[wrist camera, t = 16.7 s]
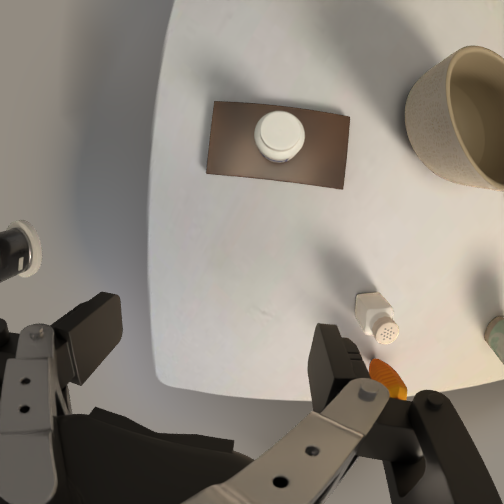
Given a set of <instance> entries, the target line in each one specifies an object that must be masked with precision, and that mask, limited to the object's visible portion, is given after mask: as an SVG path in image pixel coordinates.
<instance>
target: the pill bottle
mask: <svg viewBox="0 0 504 504" xmlns="http://www.w3.org/2000/svg"><path fill="white" fill-rule="evenodd" d="M254 138H255V142H256V145H257V147H258V149H259V151H260V153H261V154H262V155H263V156H264V157H265V158H266V159H268V160H269V161H272V162H277V163H281V162H286V161H288V160H290V159H291V158H293V157H294V156H295V155H296V154H297V153H298V152H299V151H300V149H301V148H302V146H303V143H304V139H305V132H304V128H303V126H302V124H301V122H300V121H299V120H298V118H297V117H295V116H294V115H292V114H291V113H288V112H285V111H273V112H270V113H268V114H266V115H264V116H263V117H262V118H261V119H260V120H259V121H258V123H257V125H256V128H255V132H254Z"/></svg>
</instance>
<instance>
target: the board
mask: <svg viewBox="0 0 504 504" xmlns="http://www.w3.org/2000/svg"><path fill="white" fill-rule="evenodd" d="M273 111H285V112H288V113H291V114H292V115H294V116H295V117H297V118H298V120H299V121H300V122H301V124H302V126H303V128H304V132H305V139H304V143H303V146H302V148H301V149H300V151H299V152H298V153H297V154H296V155H295V156H294V157H293V158H291V159H290V160H288V161H286V162H281V163H277V162H272V161H269V160H268V159H266V158H265V157H264V156H263V155H262V154H261V153H260V151H259V149H258V147H257V145H256V142H255V138H254V132H255V128H256V125H257V123H258V121H259V120H260V119H261V118H262V117H263V116H264V115H266V114H268V113H270V112H273ZM349 126H350V117H349V116H343V115H338V114H333V113H327V112H321V111H314V110H308V109H301V108H293V107H285V106H276V105H266V104H255V103H241V102H223V101H214V108H213V116H212V124H211V132H210V141H209V150H208V160H207V170H206V174H215V175H227V176H238V177H249V178H258V179H267V180H276V181H285V182H293V183H300V184H308V185H315V186H322V187H329V188H335V189H342V190H343V186H344V177H345V168H346V159H347V149H348V138H349Z"/></svg>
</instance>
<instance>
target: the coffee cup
mask: <svg viewBox="0 0 504 504" xmlns="http://www.w3.org/2000/svg"><path fill="white" fill-rule="evenodd" d="M485 341H486V342H487V343H488V345H489V346H490V347H491V348H492V350H493V351H494V352H495V354H496V355H497V356H498V357H499V359H500V360H501V361H502V363H503V364H504V318H503V317H496V318H494V319H493V320H492V321H491V322H490V323H489V325H488V327H487V329H486V331H485Z"/></svg>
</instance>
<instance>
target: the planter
mask: <svg viewBox="0 0 504 504" xmlns="http://www.w3.org/2000/svg"><path fill="white" fill-rule="evenodd" d="M405 125H406V130H407V134H408V137H409V140H410V143H411V145H412V147H413V149H414V151H415V153H416V154H417V156H418V157H419V158H420V160H421V161H422V162H423V163H424V165H425V166H426V167H427V168H429V169H430V170H431V171H432V172H433V173H435V174H436V175H438V176H439V177H441V178H443V179H445V180H448V181H451V182H454V183H457V184H461V185H466V186H472V187H478V188H485V189H491V190H496V191H504V59H503V58H502V57H501V56H500V55H498V54H497V53H495V52H493V51H491V50H489V49H487V48H484V47H480V46H466V47H463V48H461V49H459V50H457V51H456V52H454V53H453V54H451V55H450V56H448V57H447V58H445V59H444V60H443V61H441V62H440V63H438V64H437V65H436V66H434V67H433V68H432V69H430V70H429V71H428V72H426V73H425V74H424V75H423V76H422V77H421V78H420V79H419V80H418V81H417V82H416V83H415V85H414V86H413V87H412V89H411V91H410V93H409V95H408V98H407V101H406V106H405Z"/></svg>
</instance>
